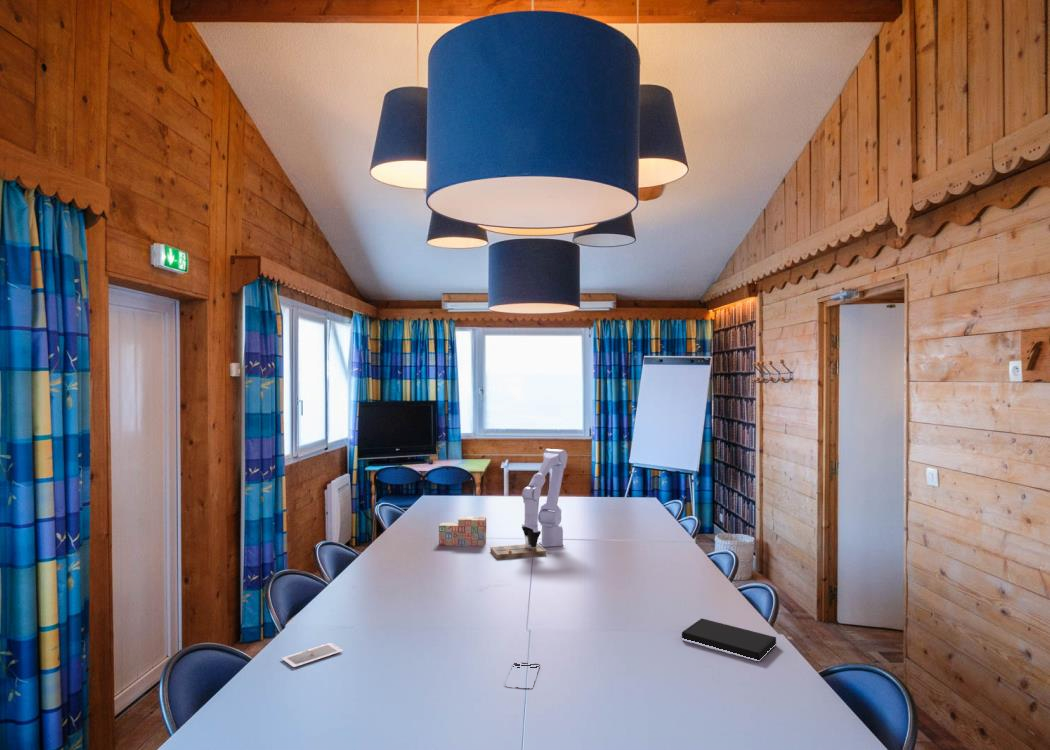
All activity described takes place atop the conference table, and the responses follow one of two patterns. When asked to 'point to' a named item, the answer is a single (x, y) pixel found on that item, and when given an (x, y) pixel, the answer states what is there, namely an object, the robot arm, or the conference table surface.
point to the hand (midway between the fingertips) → (531, 544)
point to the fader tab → (528, 543)
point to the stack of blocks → (464, 532)
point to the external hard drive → (730, 638)
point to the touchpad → (312, 654)
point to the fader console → (516, 551)
